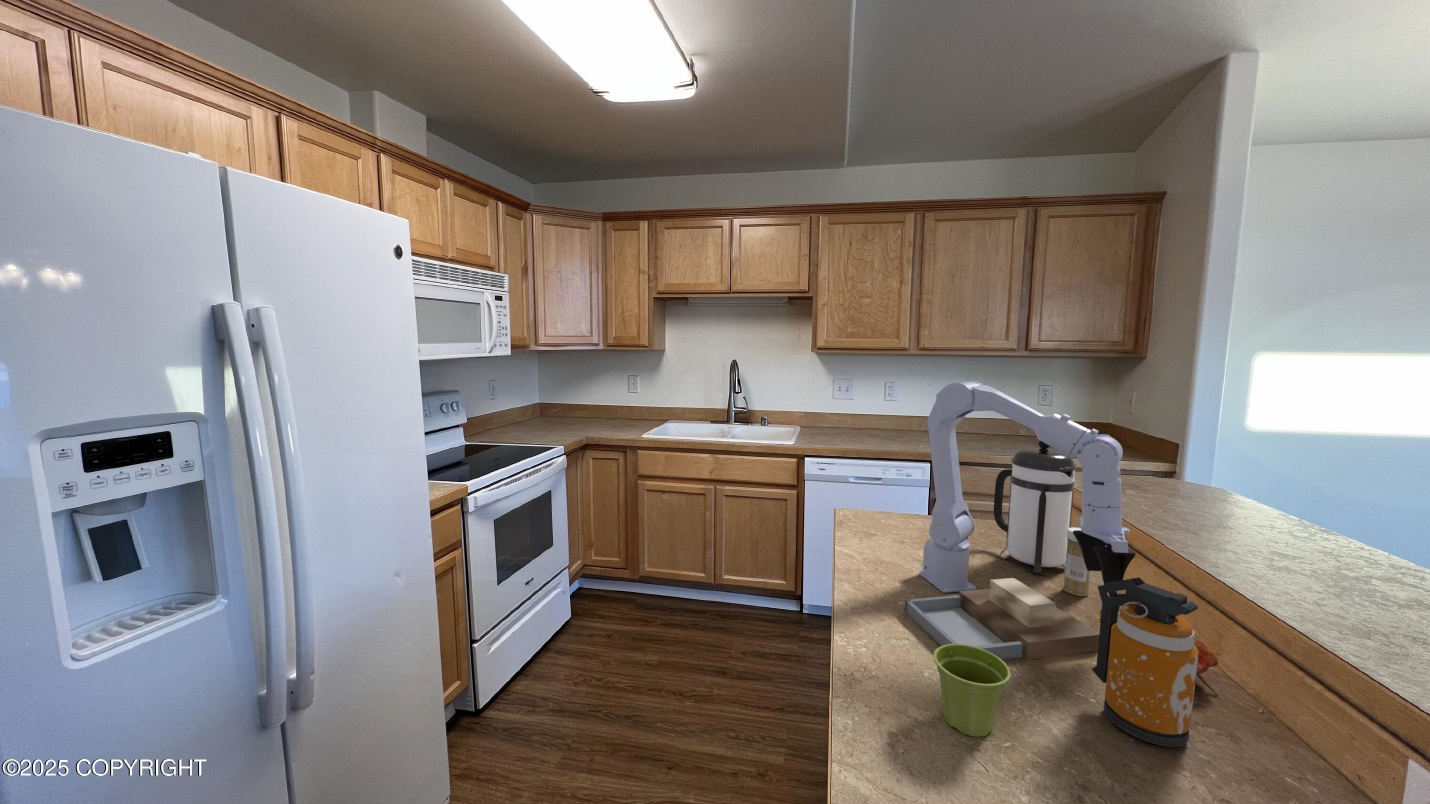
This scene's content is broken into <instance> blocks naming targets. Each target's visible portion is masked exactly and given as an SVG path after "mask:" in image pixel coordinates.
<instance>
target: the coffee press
mask: <svg viewBox="0 0 1430 804" xmlns="http://www.w3.org/2000/svg"><path fill="white" fill-rule="evenodd" d="M1038 447H1039V448H1035V447H1033V448H1030V447H1029V448H1023V449H1020V450H1018V451H1016V453H1014V455H1013V457H1011V459H1010V462H1011V465H1012V468H1005V469H1002V470H1000V472H999V473H998V474H997V477H996V479H995V484H994V494H993V495H994V496H993V516H994V521H995V522H996V524H997V526H998V528H1000V529H1001V530H1002V531H1004V532H1006V541H1005V546H1004V549H1002V550H1001V551H1000V552H999V558H1000V559H1001V560H1007V559H1008V558H1010V557H1011V558H1013V559H1015V560H1016V561H1019V562H1021V563H1023V564H1027V565H1029V566H1030V565H1031V566H1033V575H1035V576H1039V577H1040V576H1042V568H1056V567H1060V566H1062V567H1063V568H1064V569H1065V565H1064V564H1065V562H1066V551H1067V541H1068V540H1067V530H1068V529H1069V528H1071V527H1072V526H1071V525H1072V524H1071V523H1072V511H1073V501H1074V487H1075V486H1074V485H1075V481H1076V475H1075V472H1076V470H1077V464H1076V463H1075V461H1074V460H1073V457H1071V456H1069V455H1067V454H1065V453H1063V452H1061V451H1060V450H1055V449H1049V448H1050V447H1051V446H1050V445H1048V444H1046V443H1044V442H1042V441H1040V440H1039V442H1038ZM1008 477H1010V480H1009V481H1010V482H1009V483H1010V485H1009V498H1008V512H1007V523H1006V522H1005V520H1004V517H1003V501H1004V488H1005V487H1004V486H1005V481H1006V479H1007V478H1008ZM1006 550H1007V552H1008V554H1006V556H1001V555H1002V554H1003V553H1004V552H1005V551H1006Z"/></svg>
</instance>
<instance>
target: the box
mask: <svg viewBox="0 0 1430 804" xmlns="http://www.w3.org/2000/svg"><path fill="white" fill-rule="evenodd" d="M960 600H961V597H960V596H959V594H958V595H957V594H956V595H945V596H936V597H935V596H934V597H933V596H931V597H924V598H923V597H922V598H912V599H905V600H904V614H906V615H907V616H908V617H909V618H910V619H911V620H912V621H913V622H914V623H915V624H916V625H918V627H919V628H920V629H921V630H922V631H923V632H925V634H926V635H927V636H928V637H930V639H932V640H933V641H934V642H935V643H936V644H937V645H938V646H939V647H941V646H943V645H947V644H964V645H970V646H974V647H978V648H981V649H983V650H986V651H988V652H990V653H992V654H994V655H996V656H997V657H999V658H1000V659H1001V660H1002V661H1007V660H1010V661H1011V660H1017V659H1022V658H1023V656H1022V649H1023V644H1022V643H1021V642H1020V641H1017V642H1008V643H1006V642H1004V641H1003V640H1002V639H1000V638H999V637H998V636H997V635H995V634H994V633H993V632H992V631H990V630H989V629H988V628H986V627H985V626H984V625H983V624H981V623H980V622H979V621H977V620H976V619H975V618H974V617H972V616H971V615H970V614H969V613H967V612H966V611H965V610H963V609H962V608H961V607H960Z"/></svg>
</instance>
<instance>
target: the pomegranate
mask: <svg viewBox="0 0 1430 804" xmlns="http://www.w3.org/2000/svg"><path fill="white" fill-rule="evenodd" d="M1194 645H1195V647H1196V648H1197V649H1198V652H1199V654H1198V663H1197V672H1196V677H1197V678H1198V679H1199V680H1200V681H1201V682H1202V683H1203V684H1204V685H1206V686H1207V688H1209V689H1210V690H1211V692H1212V693H1214V694H1215V696H1217V697H1218V696H1219V694H1217V692H1216V691H1214V689H1213V688H1212V687H1211V685H1210V684H1208V682H1206V680H1205V679H1204V678H1203V676H1202V675H1201V674H1204V673H1206V672H1207V671H1208V669H1209V668H1212V667H1216V666H1218V665H1219V664H1220V662H1219V659H1218V657H1217V655H1216V654H1215V652H1214V651H1213V650H1212V649H1211V648H1210V647H1209V646H1208V645H1207V644H1206V643H1204V642H1203V641H1201V640H1199V639H1197V638H1195V637H1194Z"/></svg>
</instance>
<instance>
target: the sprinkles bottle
mask: <svg viewBox="0 0 1430 804" xmlns="http://www.w3.org/2000/svg"><path fill="white" fill-rule="evenodd" d="M1075 530H1081V527H1070V528H1069V529H1068V530H1067V540H1068V541H1067V551H1066V561H1065V563H1064V564H1065V565H1064V566H1065V568H1064V578H1063V586H1062V589H1063V591H1065V592H1066V593H1067V594H1069V595H1071V596H1072V595H1073V596H1076V597H1087V596H1089V594H1090V591H1089V589H1090V580H1091V571H1088V570H1087V569H1086V566H1085V562H1084V559H1083V555H1082V551H1081V548H1080V546H1079V543H1078V541H1077V539H1076V538H1075V536H1074V534H1073V531H1075Z"/></svg>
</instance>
